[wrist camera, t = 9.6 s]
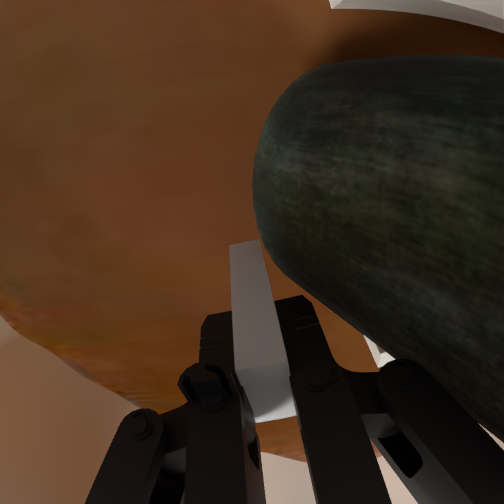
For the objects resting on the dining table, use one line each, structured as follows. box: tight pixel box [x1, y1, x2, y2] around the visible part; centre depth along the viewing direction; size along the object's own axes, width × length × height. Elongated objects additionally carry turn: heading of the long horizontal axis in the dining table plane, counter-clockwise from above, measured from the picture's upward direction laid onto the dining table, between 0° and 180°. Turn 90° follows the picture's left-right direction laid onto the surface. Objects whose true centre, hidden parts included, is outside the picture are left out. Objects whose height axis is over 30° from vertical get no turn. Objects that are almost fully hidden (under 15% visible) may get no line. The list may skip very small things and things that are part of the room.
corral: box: [329, 0, 504, 367], centre depth 13 cm, size 22×17×4 cm
